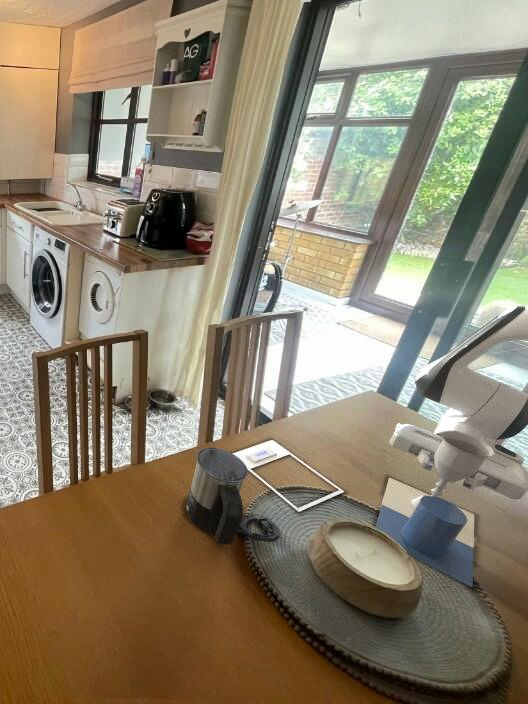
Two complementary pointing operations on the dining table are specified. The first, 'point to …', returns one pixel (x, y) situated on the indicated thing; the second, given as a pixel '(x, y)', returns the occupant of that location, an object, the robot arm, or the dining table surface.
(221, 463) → the milk frother
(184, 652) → the dining table surface
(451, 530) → the short blue cylinder
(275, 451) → the photo frame
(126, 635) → the dining table surface
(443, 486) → the chalice
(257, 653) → the dining table surface
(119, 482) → the dining table surface
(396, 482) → the board
